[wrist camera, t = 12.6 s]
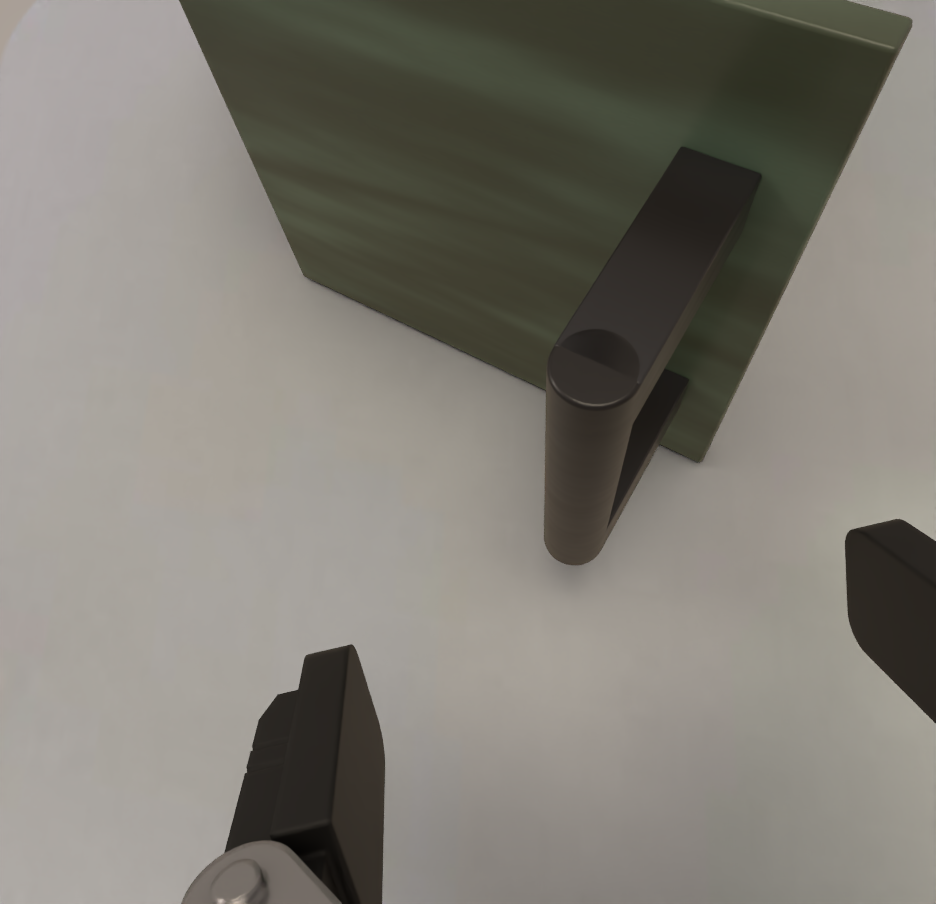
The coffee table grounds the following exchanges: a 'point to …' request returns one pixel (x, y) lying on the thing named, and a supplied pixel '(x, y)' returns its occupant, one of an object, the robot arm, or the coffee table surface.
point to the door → (560, 190)
